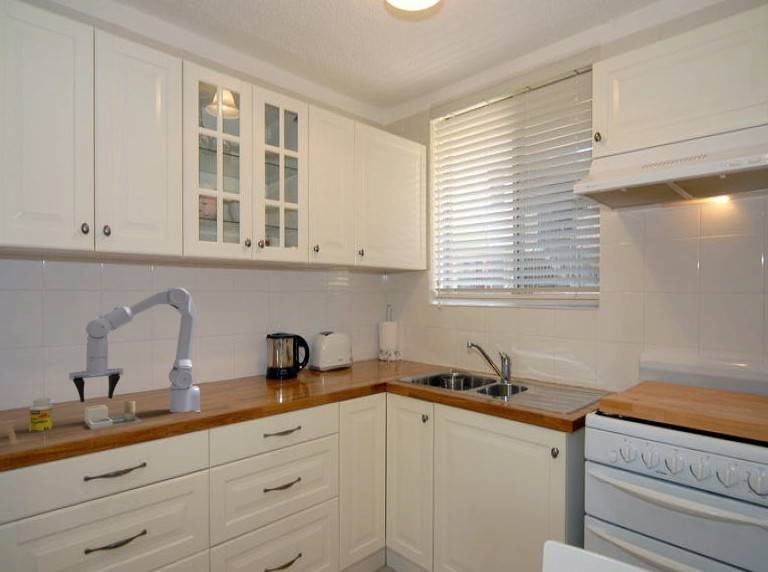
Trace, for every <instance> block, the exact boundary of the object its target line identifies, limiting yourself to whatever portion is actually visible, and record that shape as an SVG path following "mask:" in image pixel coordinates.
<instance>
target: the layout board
mask: <svg viewBox="0 0 768 572" xmlns="http://www.w3.org/2000/svg"><path fill="white" fill-rule="evenodd" d="M139 422H140V423H141V422H143V420H142V419H140V418H139V417H138V416H136V415H135V421H133V422H124V414H120V415H118V414H117V415H112V416H108V417H106V418H100V419H93V420H88V424H87V423H86V422H85V420H83V423H84V424H85V425H86V427H88V428H89V429H90V431H93V430H99V429H106V428H110V427H118V426H122V425H128V424H129V425H130V424H136V423H139Z"/></svg>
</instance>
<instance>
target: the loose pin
mask: <svg viewBox="0 0 768 572" xmlns="http://www.w3.org/2000/svg"><path fill="white" fill-rule="evenodd" d="M123 413H124V414H123V415H124V422H133V421H135V416H136V401H135V400H131V401H130V400H128V401H124V412H123Z"/></svg>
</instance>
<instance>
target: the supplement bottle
mask: <svg viewBox="0 0 768 572" xmlns="http://www.w3.org/2000/svg"><path fill="white" fill-rule="evenodd" d="M50 399H51V398H50V397H38V398H33V401H32V405H31V406H30V407H29V413H28V414H29V420H28V422H29V423H28V425H29V427H28V428H29V429H28V431H29V432H30V433H37V432H45V431H49V430H52V429H53V414H54V413H53V412H54V411H53V409H54V405H53V404H52V403H50V402H51V401H50Z"/></svg>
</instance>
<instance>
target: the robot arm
mask: <svg viewBox="0 0 768 572" xmlns="http://www.w3.org/2000/svg"><path fill="white" fill-rule="evenodd" d="M157 305H169V306H171V307H173V308H175V310H176V311H177V312H178V313H179V314H180V315H181V316H180V323H179V332H178V339H177V345H176V346H177V347H176V355H175V360H174V362H173V365H172V368H171V369H170V372H169V374H168V380H169V381H170V383H171V385H170V386H169V412H170V413H174V414H175V413H177V414H178V413H185V412H190V411H193V412H196V413H198V412H199V413H201V391H200V388H199V386H197V385H193V383H194V379H195V378H194V373H193V365H192V364H193V363H192V355H193V347H194V339H195V332H196V326H197V325H196V323H197V316H198V309H197V306H196V304H195V302H194V301H193V299H192V295H191V293H190V292H188V291H187V290H186V289H185V288H184V287H181V286H175V287H168V288H167V289H163V290H161V291H158V292H155V293H153V294H151V295H149V296H148V297H145V298H143V299H142V300H140V301H138V302H136V303H134V304H132V305H131V306H129V307H127V306H125V305H121V306H114V307H113V309H114V310H111V311H109V312H108V313H106V314H100V315H99V316H98V317H99V318H98V319H97V318H95V319H93V320H91V321H89V322H88V324H87V325H86V328H85V331H86V333H87V334H88V335H87V337H86V341H87V342H86V370H83V371H75V372H69V373H68V380H71V381H72V382H73V383H74V385H75V387H76V390H77V391H78V394H79V395H78V396H79V400H80V403H85V384H86V383H85V379H90V378H101V377H108V378H107V379H108V393H107V394H108V395H107V397H108V399H110V400H111V399H113V396H114V392H115V389H116V387H117V385H118V383H119V382H120V380H121V376H123V375H124V368H122V367H121V368H119V367H118V368H108V364H109V363H108V362H109V361H108V360H109V359H108V358H109V356H108V355H109V342H108V334H109V333H110V331H111V332H113V331H116V330H117V329H119V328H121V327H123V326H125V325H127V324H129V323H130V322H132V321H133V319H134V317H135V316H136V315H137V314H140V313H142V312H144V311H146V310H149V309H151V308H153V307H155V306H157Z"/></svg>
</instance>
